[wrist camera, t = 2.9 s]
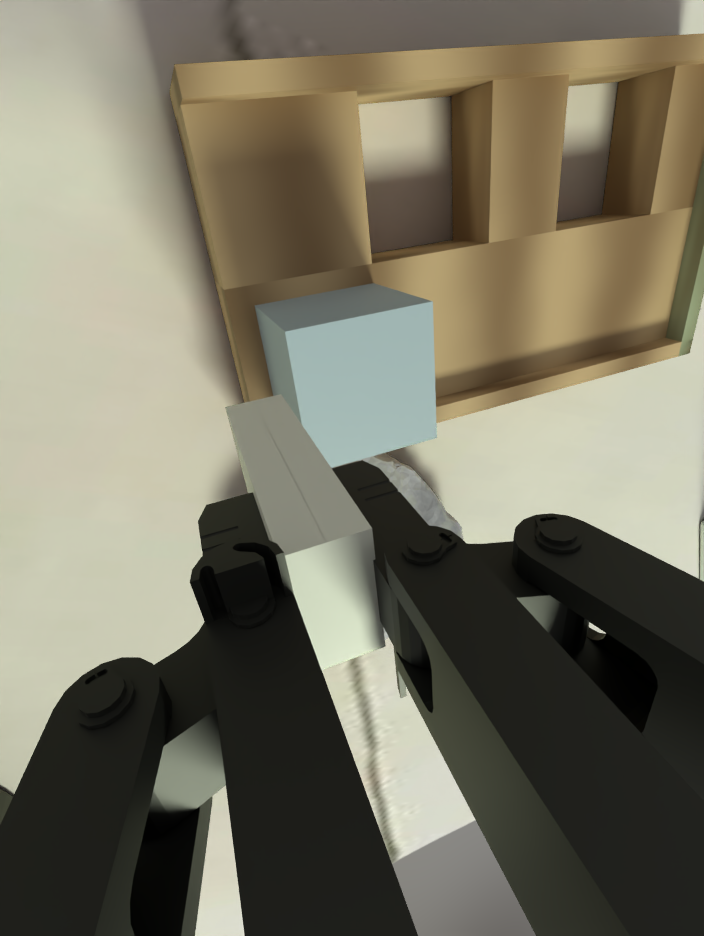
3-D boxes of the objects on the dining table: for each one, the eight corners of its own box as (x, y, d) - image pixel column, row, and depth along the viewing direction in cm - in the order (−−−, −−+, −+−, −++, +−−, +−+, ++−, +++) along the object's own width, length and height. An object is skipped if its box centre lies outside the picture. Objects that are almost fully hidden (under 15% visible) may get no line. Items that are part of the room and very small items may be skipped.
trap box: (251, 434, 24) (268, 469, 21) (169, 92, 17) (174, 64, 14) (629, 337, 30) (689, 353, 27) (678, 55, 23) (766, 29, 20)
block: (278, 422, 21) (311, 473, 17) (254, 305, 19) (284, 331, 15) (383, 396, 22) (437, 437, 18) (373, 283, 20) (432, 301, 16)
